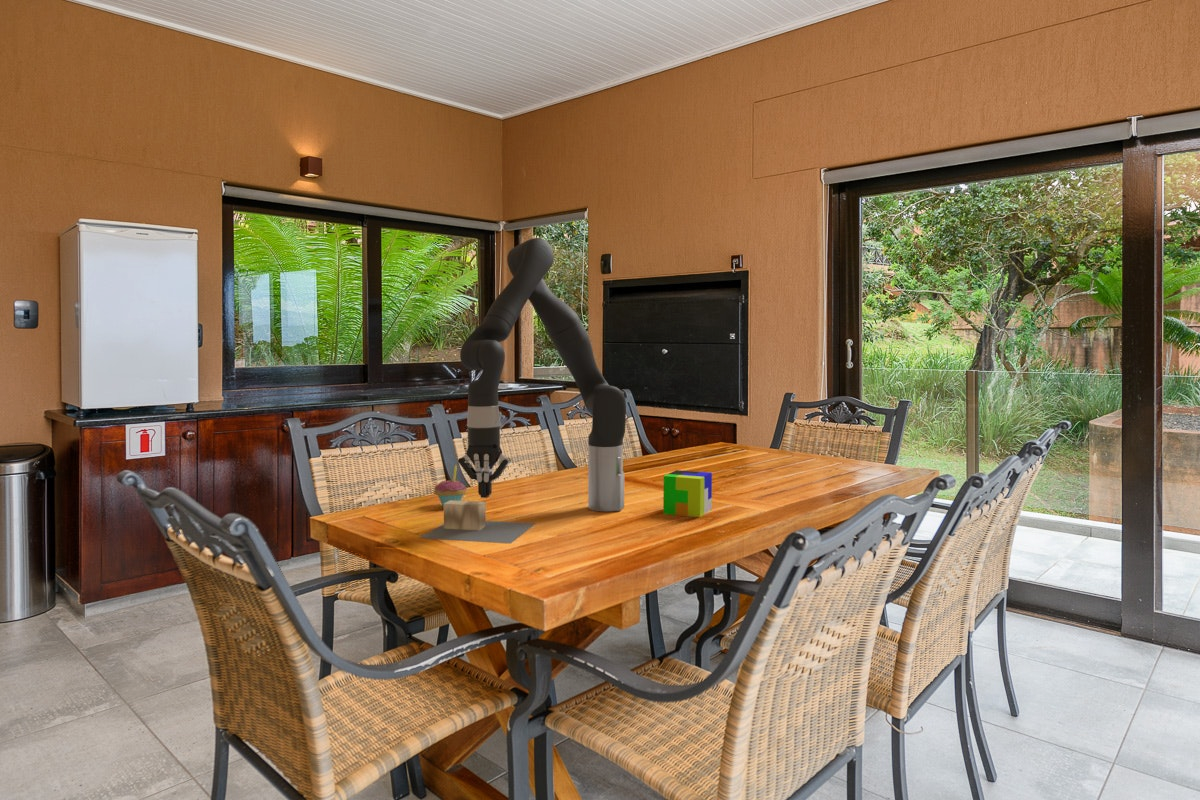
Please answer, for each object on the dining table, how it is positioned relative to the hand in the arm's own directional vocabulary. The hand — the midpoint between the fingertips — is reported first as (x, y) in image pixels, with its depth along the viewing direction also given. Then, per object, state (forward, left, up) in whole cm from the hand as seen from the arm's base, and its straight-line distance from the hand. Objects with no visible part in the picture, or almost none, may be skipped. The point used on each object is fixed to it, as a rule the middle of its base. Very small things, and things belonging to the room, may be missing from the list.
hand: (485, 497), depth 182 cm
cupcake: (+19, -23, -8) cm, 31 cm away
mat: (+1, +2, -8) cm, 8 cm away
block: (+1, 0, -5) cm, 5 cm away
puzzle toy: (-45, -30, -8) cm, 55 cm away
